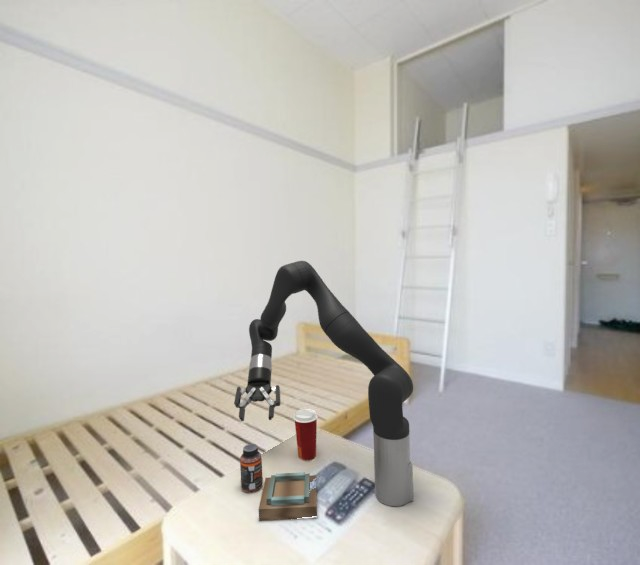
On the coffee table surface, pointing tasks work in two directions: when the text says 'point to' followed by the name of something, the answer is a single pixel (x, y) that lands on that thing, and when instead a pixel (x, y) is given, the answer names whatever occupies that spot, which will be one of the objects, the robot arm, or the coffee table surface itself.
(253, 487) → the supplement bottle
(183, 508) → the coffee table surface
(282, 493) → the walnut foundation
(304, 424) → the paper cup
